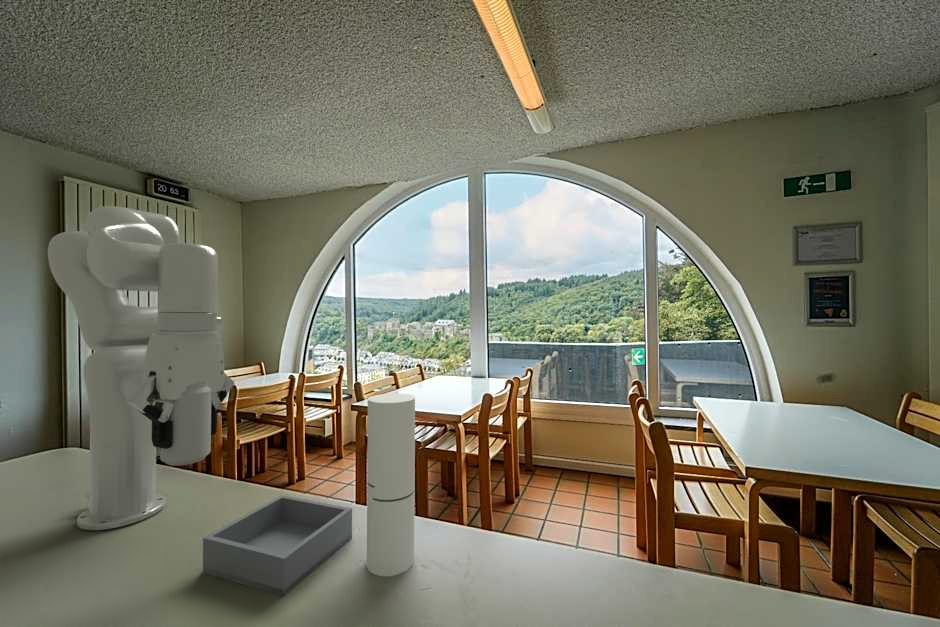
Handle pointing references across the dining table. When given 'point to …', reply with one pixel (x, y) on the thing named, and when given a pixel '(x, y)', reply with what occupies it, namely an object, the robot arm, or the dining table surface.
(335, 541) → the box
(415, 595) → the dining table surface
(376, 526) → the cylindrical container
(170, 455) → the beverage can
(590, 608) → the dining table surface
